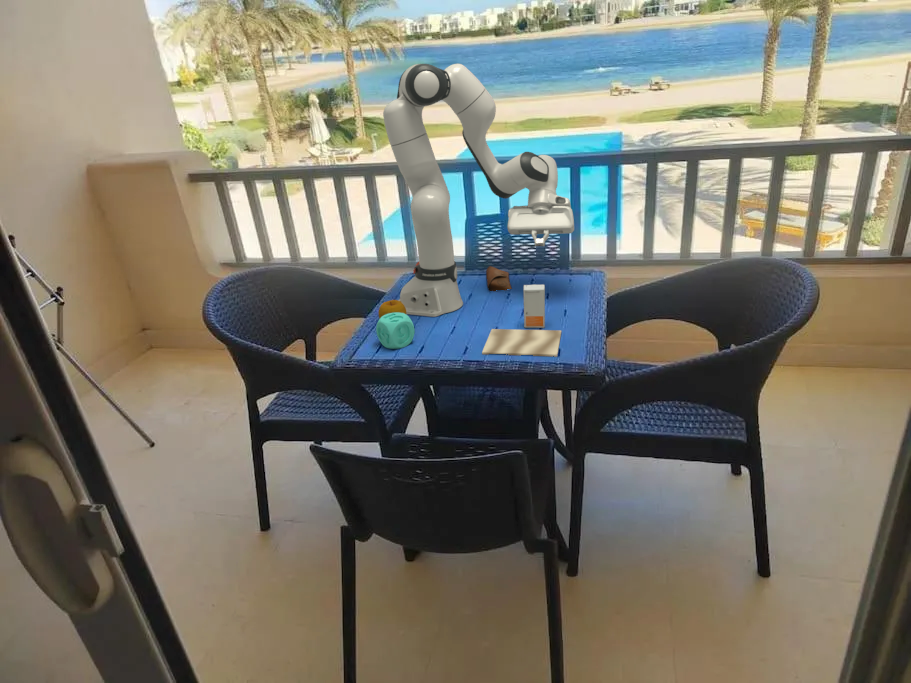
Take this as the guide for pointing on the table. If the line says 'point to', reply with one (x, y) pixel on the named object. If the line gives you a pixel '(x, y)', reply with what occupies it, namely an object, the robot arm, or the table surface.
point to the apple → (391, 308)
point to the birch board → (523, 342)
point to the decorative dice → (395, 330)
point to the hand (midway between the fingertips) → (539, 245)
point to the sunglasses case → (497, 279)
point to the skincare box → (534, 306)
